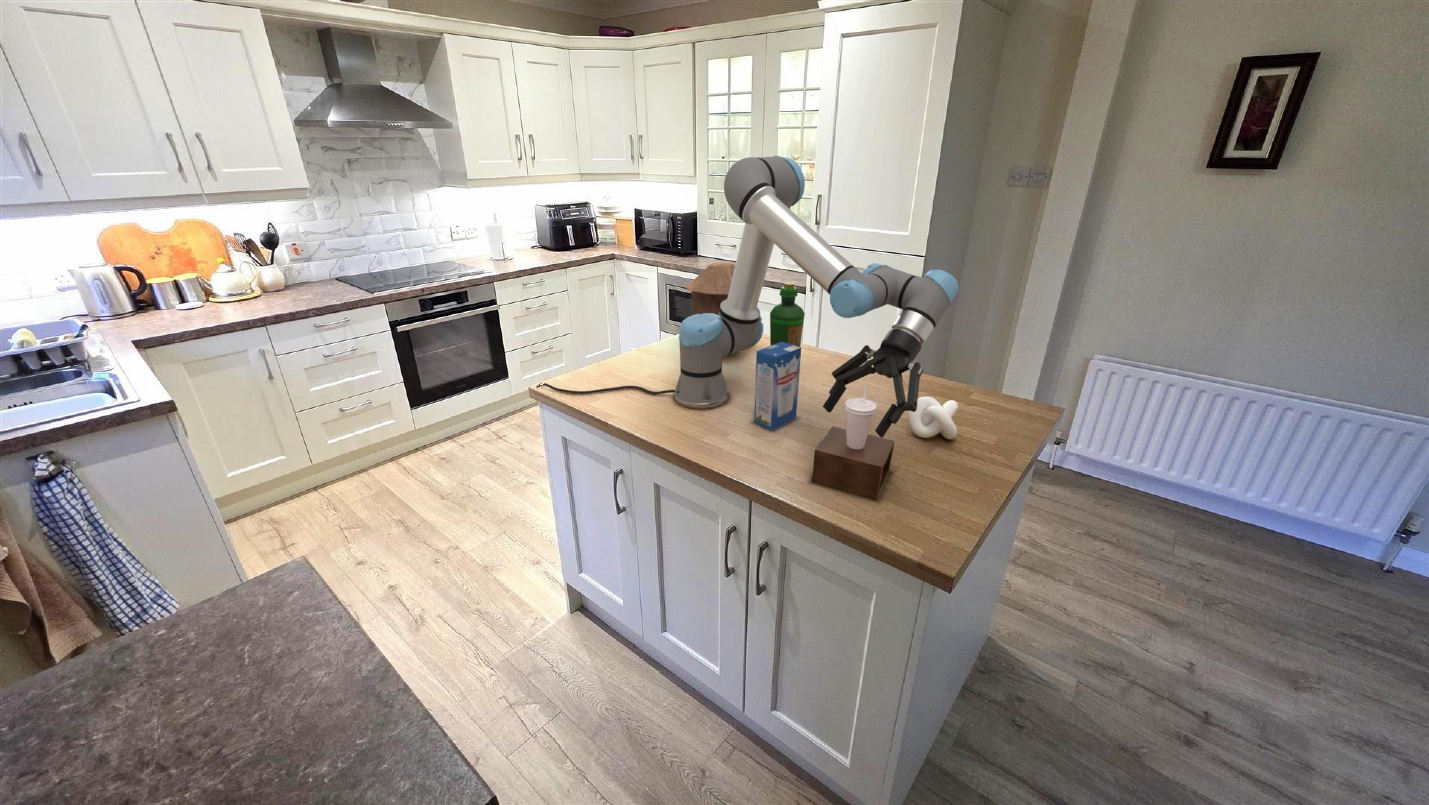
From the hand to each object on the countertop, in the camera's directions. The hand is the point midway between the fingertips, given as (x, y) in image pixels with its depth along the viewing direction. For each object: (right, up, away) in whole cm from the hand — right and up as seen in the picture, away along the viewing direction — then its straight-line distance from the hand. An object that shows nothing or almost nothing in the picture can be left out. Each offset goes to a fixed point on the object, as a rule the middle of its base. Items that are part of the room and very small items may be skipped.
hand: (851, 421), depth 113 cm
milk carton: (-12, -1, +32) cm, 34 cm away
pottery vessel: (-25, +22, +80) cm, 87 cm away
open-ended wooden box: (+2, -12, +8) cm, 15 cm away
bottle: (-6, +14, +63) cm, 65 cm away
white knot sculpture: (+27, -4, +26) cm, 38 cm away
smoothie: (+2, -5, +4) cm, 7 cm away
